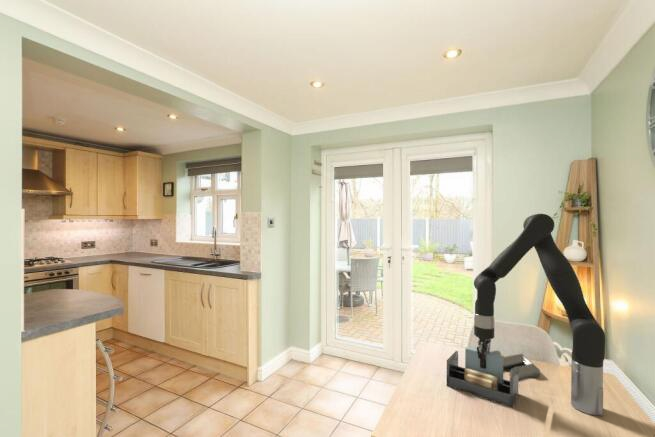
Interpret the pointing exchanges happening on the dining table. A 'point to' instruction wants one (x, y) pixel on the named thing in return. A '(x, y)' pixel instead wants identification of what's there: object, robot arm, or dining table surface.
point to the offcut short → (479, 381)
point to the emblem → (519, 365)
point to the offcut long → (483, 375)
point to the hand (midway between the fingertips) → (483, 366)
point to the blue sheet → (492, 363)
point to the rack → (503, 395)
